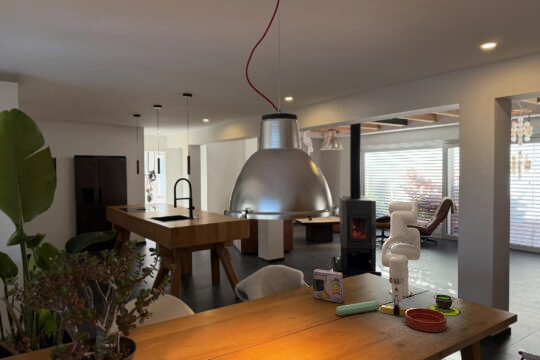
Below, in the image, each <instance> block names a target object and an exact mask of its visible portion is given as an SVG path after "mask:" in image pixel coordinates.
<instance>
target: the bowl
mask: <svg viewBox="0 0 540 360" xmlns="http://www.w3.org/2000/svg"><path fill="white" fill-rule="evenodd" d="M404 323H405V324H406V325H407V326H408V327H410V328H412V329H414V330H418V331H423V332H429V333H438V332H442V331H445V330H446V329H447V327H448V318H447V315H444V314H443V313H441V312H438V311H435V310H432V309H429V308H424V307H412V308H411V309H408V310H406V311H405V316H404Z"/></svg>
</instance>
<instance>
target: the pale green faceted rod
mask: <svg viewBox="0 0 540 360" xmlns="http://www.w3.org/2000/svg"><path fill="white" fill-rule="evenodd" d="M379 310H380V304H379V302H378V300H377V299H373V300H370V301H363V302H356V303H351V304H345V305H339V306H336V308H335V313H336V315H337V316H339V317H342V316H348V315H354V314H359V313H360V314H361V313H367V312H371V311H375V312H378V311H379Z"/></svg>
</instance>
